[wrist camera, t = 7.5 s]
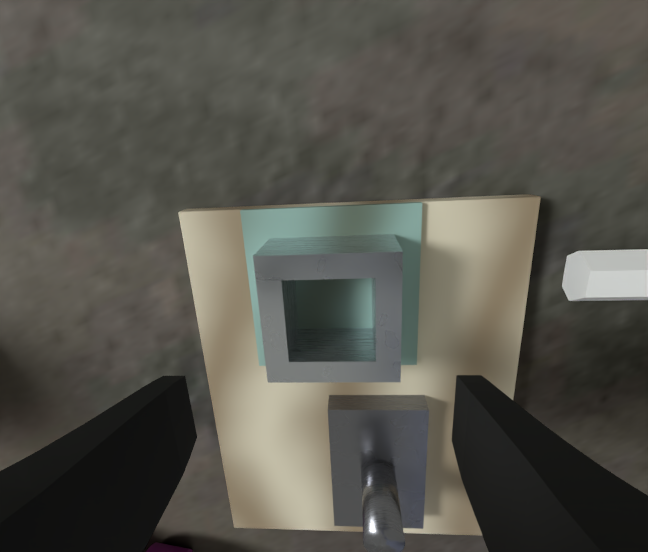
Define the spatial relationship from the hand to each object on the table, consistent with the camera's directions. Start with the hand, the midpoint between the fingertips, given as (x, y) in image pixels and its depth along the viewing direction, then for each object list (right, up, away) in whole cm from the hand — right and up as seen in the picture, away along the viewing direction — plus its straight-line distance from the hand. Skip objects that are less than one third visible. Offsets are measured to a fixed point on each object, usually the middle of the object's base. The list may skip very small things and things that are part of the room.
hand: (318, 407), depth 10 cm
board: (+2, -3, +11) cm, 11 cm away
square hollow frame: (+1, +3, +8) cm, 8 cm away
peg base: (+3, -6, +12) cm, 14 cm away
